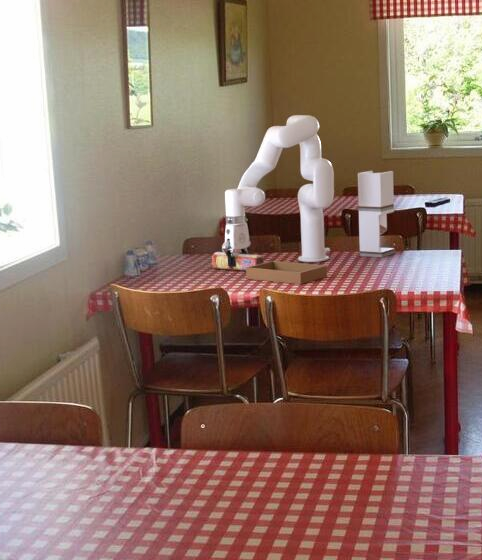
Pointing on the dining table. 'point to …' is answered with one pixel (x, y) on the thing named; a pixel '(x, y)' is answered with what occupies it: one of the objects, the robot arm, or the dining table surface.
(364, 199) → the coffee grinder
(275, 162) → the robot arm
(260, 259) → the snack package
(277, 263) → the brown cardboard tray
